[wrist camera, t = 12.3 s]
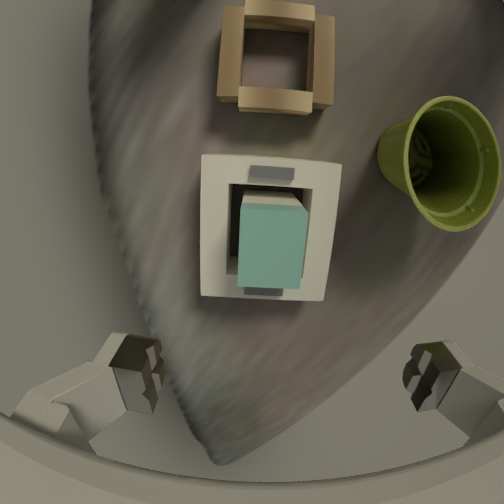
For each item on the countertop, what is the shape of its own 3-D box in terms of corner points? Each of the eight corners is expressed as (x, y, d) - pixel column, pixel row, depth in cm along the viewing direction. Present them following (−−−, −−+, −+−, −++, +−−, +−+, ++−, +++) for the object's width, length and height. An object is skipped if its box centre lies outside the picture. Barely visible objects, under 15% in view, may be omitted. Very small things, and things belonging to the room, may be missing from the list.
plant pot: (392, 225, 25) (441, 258, 17) (337, 141, 23) (378, 140, 15) (455, 171, 23) (513, 186, 15) (409, 89, 21) (465, 75, 13)
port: (328, 161, 24) (343, 165, 19) (314, 280, 27) (324, 304, 23) (209, 153, 23) (200, 154, 19) (207, 275, 27) (199, 298, 23)
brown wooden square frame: (326, 22, 19) (334, 9, 16) (323, 118, 22) (332, 115, 19) (228, 13, 19) (225, -1, 16) (220, 111, 22) (215, 106, 19)
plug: (291, 192, 25) (308, 212, 17) (286, 248, 26) (299, 289, 19) (244, 189, 25) (240, 208, 17) (241, 245, 26) (237, 286, 19)
